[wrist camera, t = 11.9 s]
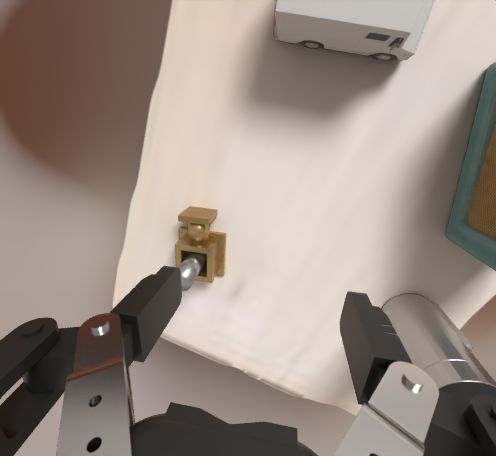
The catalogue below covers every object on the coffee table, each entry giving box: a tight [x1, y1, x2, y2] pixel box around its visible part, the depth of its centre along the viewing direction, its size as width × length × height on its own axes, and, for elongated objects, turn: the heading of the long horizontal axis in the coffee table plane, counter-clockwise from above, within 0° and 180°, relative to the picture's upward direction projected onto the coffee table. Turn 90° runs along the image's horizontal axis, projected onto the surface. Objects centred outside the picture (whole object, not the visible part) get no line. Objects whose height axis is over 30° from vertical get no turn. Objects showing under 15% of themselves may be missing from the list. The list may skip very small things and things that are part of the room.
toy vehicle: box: [273, 0, 434, 60], centre depth 28 cm, size 9×18×10 cm, turn 79°
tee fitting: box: [175, 207, 226, 283], centre depth 46 cm, size 9×13×5 cm
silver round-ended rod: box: [178, 252, 207, 291], centre depth 44 cm, size 3×3×10 cm
